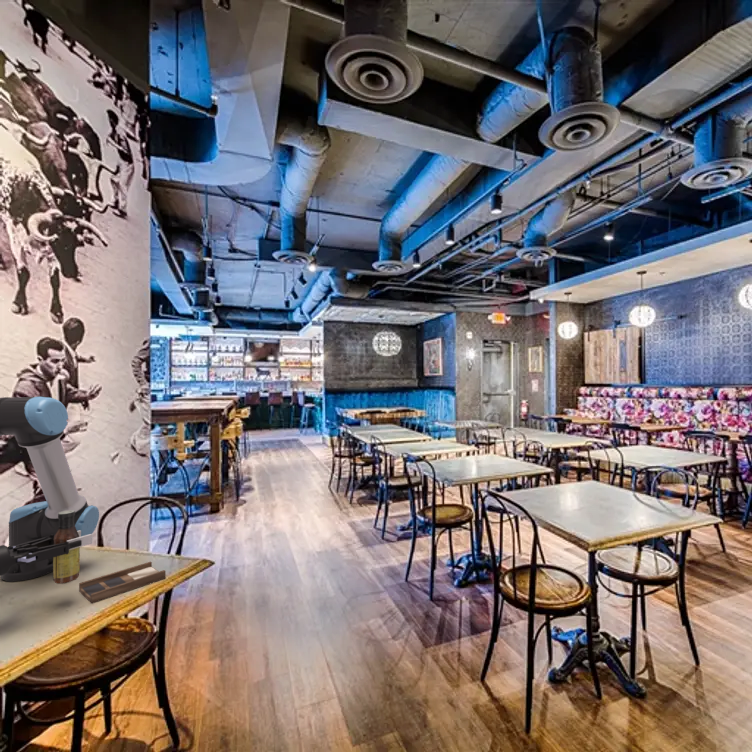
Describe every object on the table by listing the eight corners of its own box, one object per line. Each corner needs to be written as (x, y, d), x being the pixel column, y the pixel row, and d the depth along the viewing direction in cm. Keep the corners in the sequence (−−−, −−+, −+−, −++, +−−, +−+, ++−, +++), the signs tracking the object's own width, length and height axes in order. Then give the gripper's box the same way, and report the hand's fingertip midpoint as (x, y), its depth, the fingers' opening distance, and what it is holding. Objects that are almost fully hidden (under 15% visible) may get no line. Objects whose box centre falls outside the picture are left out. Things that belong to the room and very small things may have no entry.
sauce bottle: (84, 576, 124) (86, 509, 124) (63, 586, 118) (66, 515, 118) (67, 574, 125) (70, 507, 126) (46, 583, 119) (49, 513, 120)
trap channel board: (79, 591, 129) (79, 583, 129) (150, 568, 145) (150, 561, 145) (91, 603, 121) (91, 595, 121) (165, 578, 137) (165, 570, 137)
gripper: (-28, 571, 111) (70, 543, 131) (1, 587, 101) (102, 555, 121) (-27, 543, 111) (70, 519, 131) (2, 556, 102) (102, 529, 122)
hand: (85, 536), depth 126 cm, fingers closed on sauce bottle, 6 cm apart
